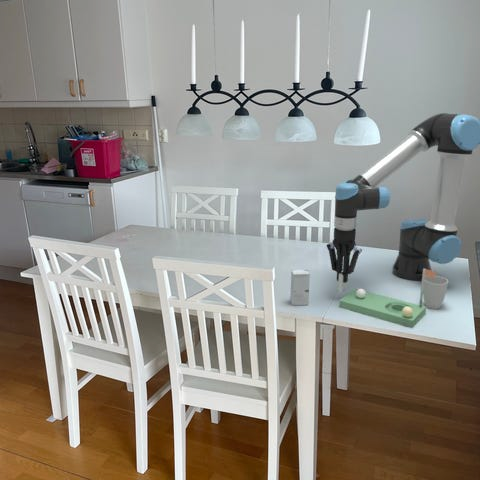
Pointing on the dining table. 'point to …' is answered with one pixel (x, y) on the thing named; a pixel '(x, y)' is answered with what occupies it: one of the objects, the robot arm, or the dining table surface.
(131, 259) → the dining table surface
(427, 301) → the cup
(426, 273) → the flag
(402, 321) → the green
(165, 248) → the dining table surface
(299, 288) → the skincare box
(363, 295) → the ball
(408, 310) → the yellow ball
